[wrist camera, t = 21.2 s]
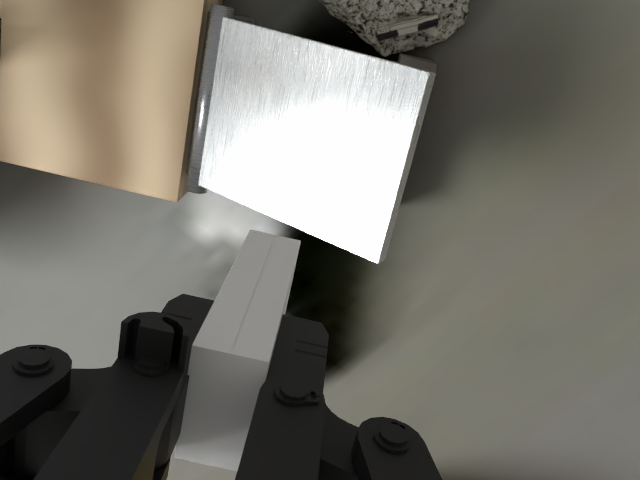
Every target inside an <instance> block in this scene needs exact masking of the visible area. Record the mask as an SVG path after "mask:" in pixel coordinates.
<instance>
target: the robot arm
mask: <svg viewBox="0 0 640 480" xmlns="http://www.w3.org/2000/svg"><path fill="white" fill-rule="evenodd" d="M300 242H301V241H299V240H295V239H290V238H286V237H281V236H277V235H272V234H268V233H263V232H259V231H254V230H250V231H249V233H248V235H247V237H246V239H245V241H244V243H243V245H242V247H241V249H240V251H239V253H238V255H237V257H236V259H235V261H234V263H233V265H232V267H231V269H230V271H229V273H228V275H227V277H226V279H225V281H224V283H223V285H222V287H221V289H220V291H219V293H218V295H217V297H216V299H215V301H213V300H209V299H204V298H200V297H195V296H191V295H186V294H181V295H180V296H178V297H176V298H174V299H172V300H170V301H168V303H167V304H166V306H165V307H164V309H163V310H162V312H161V313H159V312H143V313H137V314H134V315H131V316H128V317H127V318H126V319H125V320H123V321H122V322H121V331H120V341H119V350H118V358H117V360H116V361H115V363H114V364H113V366H112V367H107V368H100V369H71V366H72V360H71V359H70V357H69V355H68V354H67V353H65V352H64V351H62V350H60V349H59V348H55V347H51V346H47V345H27V346H21V347H16V348H14V349H11V350H9V351H7V352H4V353H3V354H1V355H0V480H166V479H167V476H168V470H169V463H170V457H171V454H172V452H173V450H174V447H175V445H176V450H175V457H174V458H177V459H182V460H187V461H191V462H196V463H201V464H205V465H210V466H214V467H219V468H224V469H228V470H233V471H237V475H236V478H235V480H442V478H441V476H440V474H439V472H438V470H437V468H436V465H435V463H434V461H433V459H432V457H431V455H430V453H429V450H428V448H427V446H426V444H425V442H424V440H423V439H422V438H421V436H420V435H419V434H418V432H416V431H415V430H414V429H412V428H411V427H410V426H408V425H407V424H405V423H402V422H400V421H398V420H396V419H391V418H385V417H376V418H370V419H368V420H366V421H364V422H362V423H361V425H360V427H359V428H358V427H356V426H354V425H352V424H350V423H348V422H346V421H344V420H342V419H340V418H339V417H337V416H336V415H335V414H334V413H332V412H331V410H330V409H329V408H328V407H327V406H326V404H325V399H324V395H323V387H324V377H325V367H326V356H327V347H328V337H329V335H328V333H327V331H326V329H325V328H324V326H323V324H322V323H320V322H316V321H311V320H307V319H302V318H298V317H293V316H289V315H285V312H286V307H287V302H288V298H289V293H290V289H291V284H292V279H293V275H294V270H295V265H296V261H297V256H298V252H299V247H300ZM176 443H177V444H176Z"/></svg>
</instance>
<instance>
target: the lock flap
mask: <svg viewBox="0 0 640 480" xmlns="http://www.w3.org/2000/svg"><path fill="white" fill-rule="evenodd" d="M234 9H235V8H232V7H228V6H224V5H219V4H214V3H211V8H210V15H209V22H208V30H207V37H206V44H205V51H204V58H203V66H202V73H201V80H200V87H199V95H198V102H197V109H196V116H195V123H194V131H193V138H192V145H191V152H190V160H189V167H188V174H187V181H186V190H187V191H189V192H192V193H198V194H203V193H206V192H207V189H209V190H211V191H213V192H215V193H218V194H220V195H222V196H225V197H227V198H229V199H231V200H234V201H236V202H238V203H241V204H243V205H245V206H247V207H250V208H252V209H254V210H257V211H259V212H261V213H263V214H266V215H268V216H270V217H273V218H275V219H277V220H279V221H282V222H284V223H286V224H289V225H291V226H293V227H295V228H298V229H300V230H302V231H305V232H307V233H309V234H311V235H314V236H316V237H318V238H321V239H323V240H325V241H327V242H330V243H332V244H334V245H337V246H339V247H341V248H343V249H346V250H348V251H350V252H352V253H355V254H357V255H359V256H362V257H364V258H366V259H368V260H371V261H373V262H375V263H379V262H381V261H383V260H385V258H386V254H387V250H388V247H389V243H390V240H391V236H392V232H393V229H394V225H395V221H396V218H397V214H398V210H399V207H400V203H401V200H402V196H403V192H404V189H405V185H406V181H407V178H408V174H409V171H410V167H411V163H412V160H413V156H414V152H415V149H416V145H417V141H418V138H419V134H420V131H421V127H422V123H423V120H424V116H425V112H426V109H427V105H428V102H429V98H430V94H431V91H432V87H433V83H434V80H435V76H436V73H434V72H430V71H427V70H423V69H419V68H416V67H412V66H408V65H404V64H401V63H397V62H393V61H389V60H386V59H382V58H378V57H375V56H371V55H367V54H363V53H360V52H356V51H352V50H348V49H345V48H341V47H337V46H333V45H330V44H326V43H322V42H319V41H315V40H311V39H307V38H304V37H300V36H296V35H292V34H289V33H285V32H281V31H278V30H274V29H270V28H266V27H263V26H259V25H255V24H251V23H248V22H244V21H240V20H237V19H233V16H234Z"/></svg>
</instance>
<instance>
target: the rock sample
mask: <svg viewBox="0 0 640 480" xmlns="http://www.w3.org/2000/svg"><path fill="white" fill-rule="evenodd" d="M318 1H319V2H320V3H321V4H323V5H324V6H326V9H327V11H328V12H329V14H330V15H332V16H334V17H336V18H338V19H339V20H341V21H342V22H344V23H345V24H347V25H348V26H349V27H351V28H352V29H353V30H354V31H355V32H356V34H357V36H358V37H360V38H361V39H363V40H364V41H365V42H366V43H368V44H371V45H372V46H373V47H374V48H375V49H376V50H377V51H378V53H379V54H381V55H382V56H388V55H390V54H395V53H398V52H404V51H408V50H413V49H416V48H417V47H425V48H428V47H429V46H431V45H432V44H434V43H439V42H444V41H445V40H446V39H447V38H449V37H450V36H451V35H452V34H453V33H455V32H456V31H457V30H458V28H460V27H462V26H463V24H464V23H465V22H466V18H467V15H468V14H469V2H470V0H318ZM348 32H349V31H348ZM351 33H352V32H351ZM355 38H356V37H355Z"/></svg>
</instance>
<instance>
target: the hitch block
mask: <svg viewBox="0 0 640 480" xmlns="http://www.w3.org/2000/svg"><path fill="white" fill-rule="evenodd" d="M211 3H214V4H219V5H222V3H223V0H0V18H1V56H0V161H2V162H7V163H11V164H15V165H20V166H24V167H28V168H32V169H37V170H41V171H45V172H50V173H54V174H58V175H62V176H67V177H71V178H75V179H80V180H84V181H88V182H92V183H97V184H101V185H105V186H110V187H114V188H118V189H122V190H127V191H131V192H135V193H140V194H144V195H148V196H152V197H157V198H161V199H165V200H170V201H174V202H178V201H179V200H180V199H181V198H182V197H183V196H184V195H185V194H186V193H187V192H188V191H187V190H186V181H187V174H188V167H189V160H190V152H191V145H192V138H193V131H194V123H195V116H196V109H197V102H198V95H199V87H200V80H201V73H202V66H203V58H204V51H205V44H206V37H207V30H208V22H209V15H210V8H211ZM233 19H237V20H240V21H244V22H248V23H251V24H254V23H255V19H251V18H247V17H242V16H238V15H234V16H233ZM397 63H401V64H404V65H408V66H412V67H416V68H419V69H423V70H427V71H430V72H434V73H436V70H437V66H438V64H437V63H436V62H435V61H433V60H429V59H425V58H420V57H416V56H412V55H407V54H403V53H399V57H398V61H397Z"/></svg>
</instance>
